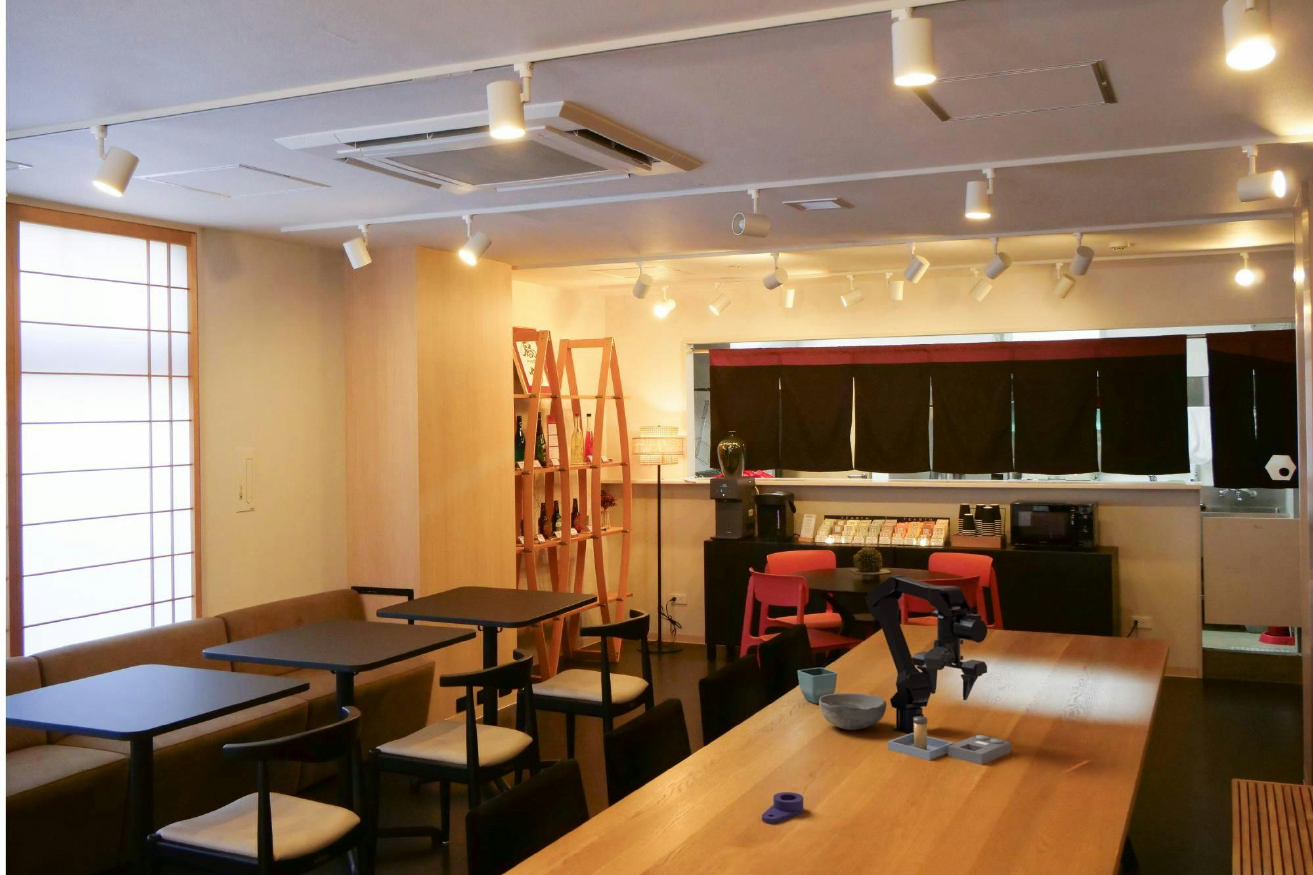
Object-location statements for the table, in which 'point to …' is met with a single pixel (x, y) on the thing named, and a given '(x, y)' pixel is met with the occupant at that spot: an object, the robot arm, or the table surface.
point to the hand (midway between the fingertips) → (949, 696)
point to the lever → (783, 807)
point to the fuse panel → (979, 749)
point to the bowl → (852, 710)
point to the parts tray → (907, 747)
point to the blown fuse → (920, 732)
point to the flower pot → (816, 683)
